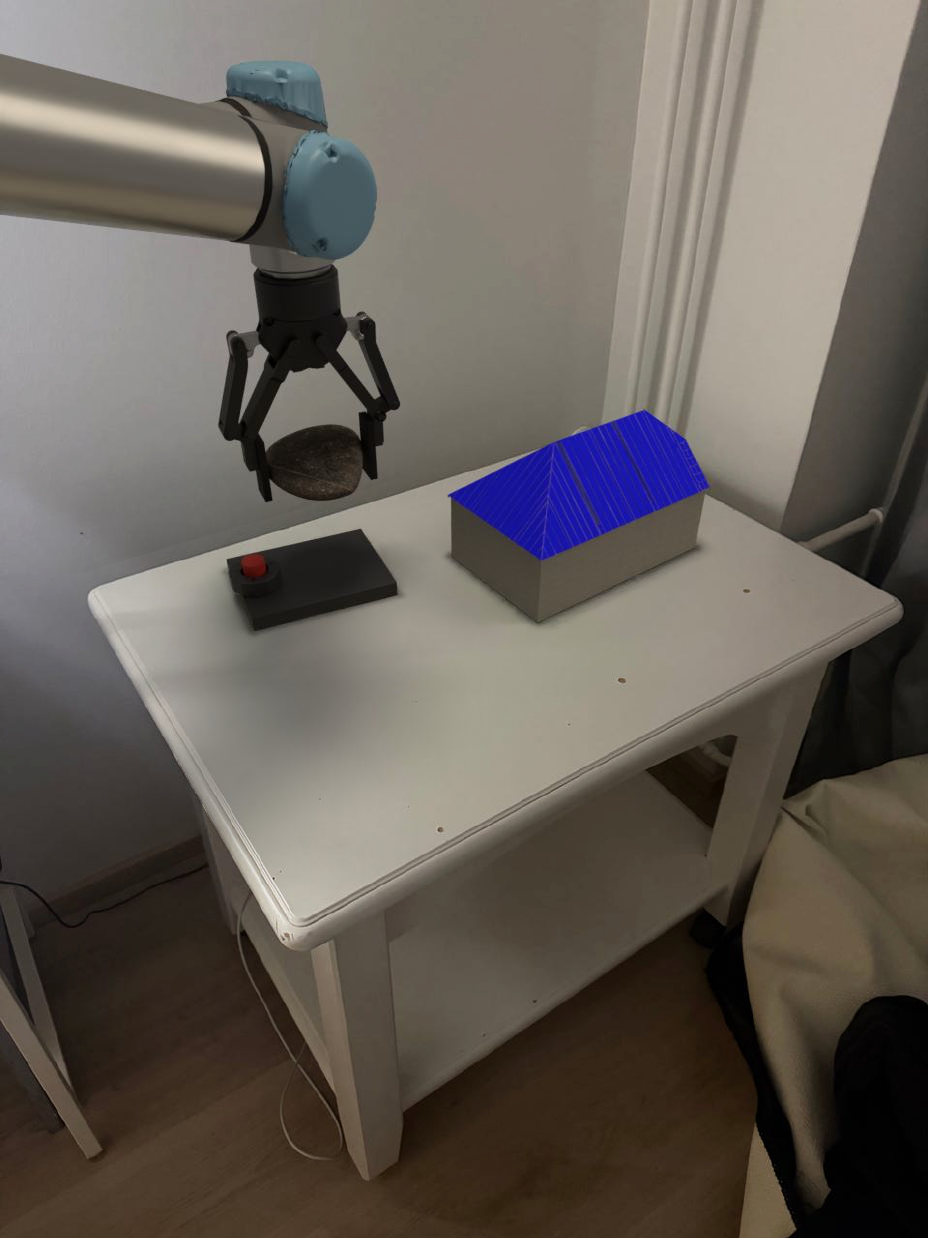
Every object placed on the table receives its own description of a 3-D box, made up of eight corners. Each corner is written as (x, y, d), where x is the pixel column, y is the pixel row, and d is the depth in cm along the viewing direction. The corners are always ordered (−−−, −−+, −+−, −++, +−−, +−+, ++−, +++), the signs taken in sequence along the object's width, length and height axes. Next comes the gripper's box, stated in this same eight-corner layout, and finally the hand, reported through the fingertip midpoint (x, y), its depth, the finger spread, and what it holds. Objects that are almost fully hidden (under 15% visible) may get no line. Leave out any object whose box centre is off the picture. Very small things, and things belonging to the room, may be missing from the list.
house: (604, 492, 116) (617, 376, 106) (698, 547, 105) (722, 425, 96) (447, 555, 104) (446, 432, 94) (536, 624, 94) (545, 494, 84)
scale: (247, 633, 92) (242, 606, 90) (222, 572, 101) (217, 546, 99) (397, 594, 98) (396, 568, 96) (361, 540, 106) (359, 515, 104)
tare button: (246, 580, 94) (244, 568, 93) (241, 569, 96) (239, 557, 95) (268, 575, 95) (266, 563, 94) (263, 563, 97) (261, 552, 96)
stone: (397, 489, 93) (394, 446, 90) (310, 526, 87) (304, 481, 84) (334, 451, 99) (330, 410, 96) (250, 483, 94) (243, 440, 91)
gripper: (170, 295, 73) (215, 525, 86) (430, 262, 80) (434, 478, 94) (155, 270, 78) (200, 490, 92) (400, 240, 86) (408, 448, 99)
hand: (318, 484), depth 93 cm, fingers closed on stone, 11 cm apart
